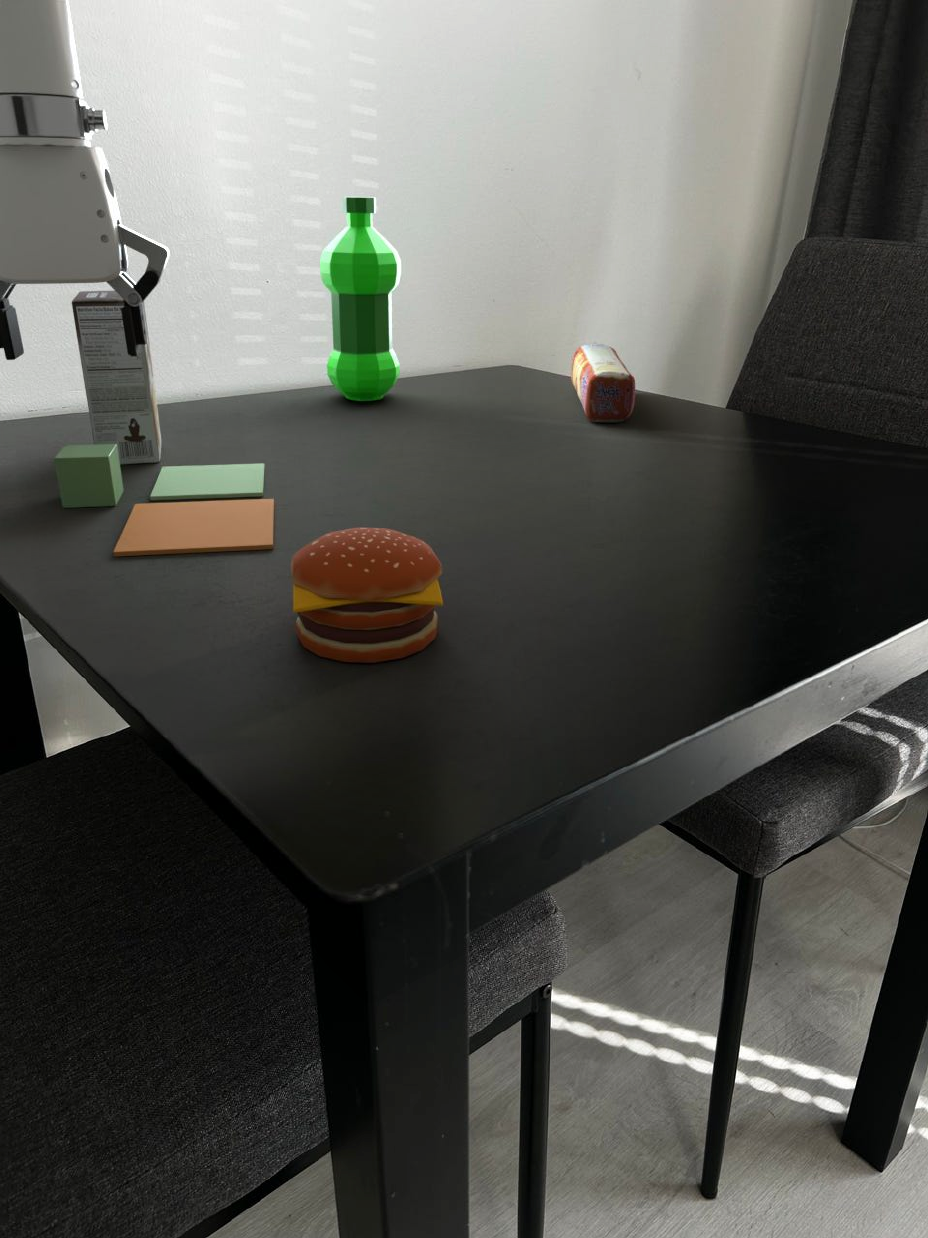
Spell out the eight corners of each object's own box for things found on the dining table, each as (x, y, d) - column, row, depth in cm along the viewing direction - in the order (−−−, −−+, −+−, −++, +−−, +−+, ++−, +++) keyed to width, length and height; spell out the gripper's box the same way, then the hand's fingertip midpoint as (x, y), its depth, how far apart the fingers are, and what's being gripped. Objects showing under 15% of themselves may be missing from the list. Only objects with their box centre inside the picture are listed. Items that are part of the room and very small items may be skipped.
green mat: (150, 500, 82) (149, 496, 82) (162, 470, 91) (162, 466, 91) (263, 496, 84) (262, 492, 84) (264, 467, 93) (264, 463, 93)
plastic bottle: (417, 396, 126) (416, 198, 116) (361, 408, 119) (354, 197, 108) (367, 386, 132) (362, 196, 122) (311, 396, 125) (300, 195, 114)
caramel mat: (113, 556, 70) (112, 551, 70) (135, 507, 81) (135, 503, 80) (273, 549, 72) (272, 544, 72) (273, 502, 83) (273, 498, 82)
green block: (62, 508, 80) (53, 457, 78) (72, 493, 84) (64, 444, 82) (116, 506, 81) (108, 456, 79) (123, 491, 85) (116, 443, 83)
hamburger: (297, 673, 54) (289, 568, 51) (294, 607, 62) (287, 514, 59) (454, 661, 55) (455, 558, 52) (430, 598, 64) (430, 507, 61)
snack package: (634, 425, 113) (640, 369, 110) (581, 423, 113) (585, 367, 110) (615, 391, 132) (619, 343, 130) (569, 390, 133) (572, 341, 130)
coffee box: (101, 444, 100) (77, 289, 93) (162, 441, 102) (143, 289, 95) (96, 466, 92) (69, 299, 85) (162, 463, 94) (141, 298, 87)
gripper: (158, 130, 75) (185, 346, 82) (-70, 128, 72) (-21, 351, 79) (146, 124, 68) (177, 359, 75) (-106, 121, 65) (-48, 366, 72)
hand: (75, 355), depth 77 cm, fingers open, 9 cm apart
